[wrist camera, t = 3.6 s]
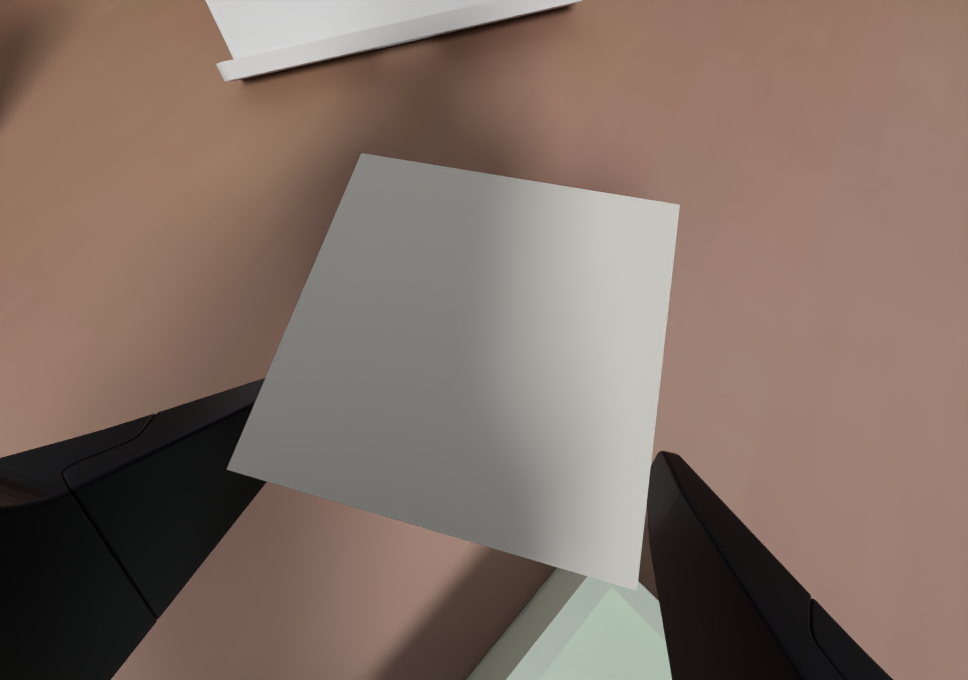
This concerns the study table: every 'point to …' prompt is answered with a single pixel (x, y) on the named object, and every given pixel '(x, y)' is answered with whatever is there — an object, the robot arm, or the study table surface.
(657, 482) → the robot arm
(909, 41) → the study table surface
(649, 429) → the carton
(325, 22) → the tablet stand
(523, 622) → the pale green tray
